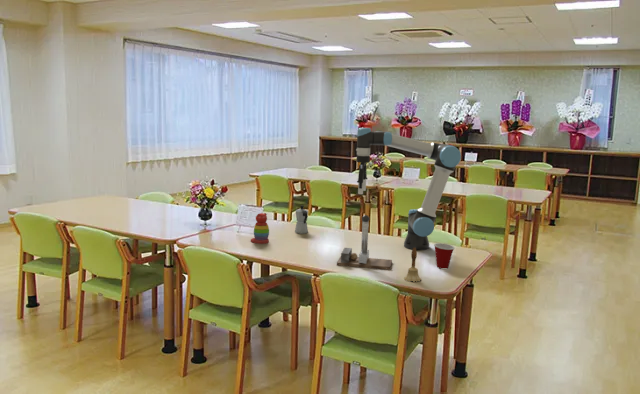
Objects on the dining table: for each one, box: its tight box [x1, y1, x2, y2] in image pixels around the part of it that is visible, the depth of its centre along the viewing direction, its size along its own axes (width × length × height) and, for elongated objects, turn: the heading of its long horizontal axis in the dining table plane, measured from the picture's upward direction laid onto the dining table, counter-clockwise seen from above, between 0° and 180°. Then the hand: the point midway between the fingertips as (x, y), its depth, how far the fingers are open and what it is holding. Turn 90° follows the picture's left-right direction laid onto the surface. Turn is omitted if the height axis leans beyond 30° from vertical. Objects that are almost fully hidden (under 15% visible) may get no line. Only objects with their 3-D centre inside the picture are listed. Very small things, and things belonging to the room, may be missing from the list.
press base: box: [336, 247, 393, 271], centre depth 290 cm, size 28×14×6 cm, turn 78°
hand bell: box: [403, 248, 422, 283], centre depth 264 cm, size 8×8×16 cm
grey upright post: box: [358, 214, 370, 264], centre depth 288 cm, size 4×11×25 cm, turn 168°
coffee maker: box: [294, 205, 309, 235], centre depth 357 cm, size 15×9×18 cm, turn 23°
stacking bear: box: [250, 212, 270, 245], centre depth 330 cm, size 11×10×18 cm
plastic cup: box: [433, 242, 456, 269], centre depth 287 cm, size 11×11×12 cm
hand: (361, 192), depth 311 cm, fingers open, 13 cm apart
